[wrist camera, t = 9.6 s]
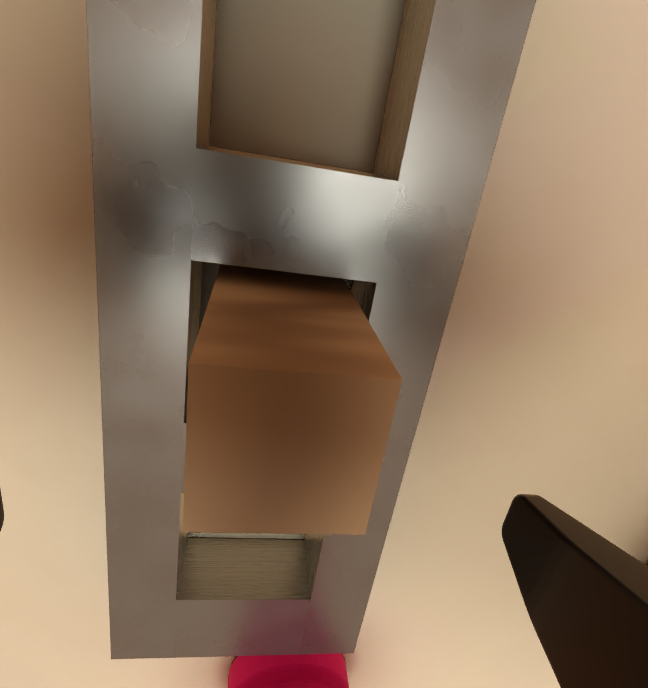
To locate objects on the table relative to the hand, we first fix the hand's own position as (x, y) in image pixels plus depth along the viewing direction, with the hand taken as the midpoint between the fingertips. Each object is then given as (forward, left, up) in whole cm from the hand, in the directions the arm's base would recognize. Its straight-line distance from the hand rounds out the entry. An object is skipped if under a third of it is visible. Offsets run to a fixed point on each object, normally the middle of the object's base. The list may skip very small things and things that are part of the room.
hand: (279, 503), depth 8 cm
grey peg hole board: (0, 0, -9) cm, 9 cm away
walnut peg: (0, 0, -9) cm, 9 cm away
